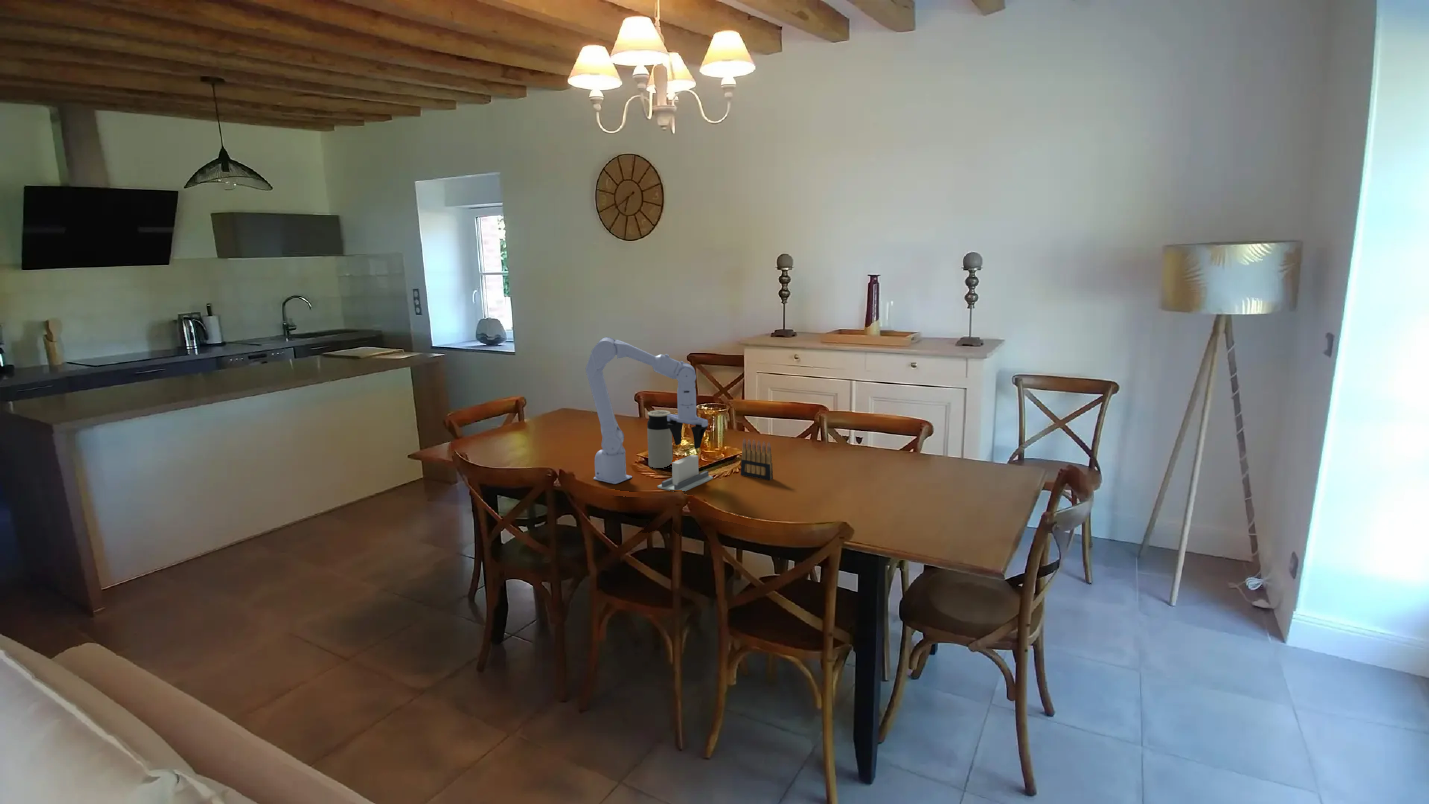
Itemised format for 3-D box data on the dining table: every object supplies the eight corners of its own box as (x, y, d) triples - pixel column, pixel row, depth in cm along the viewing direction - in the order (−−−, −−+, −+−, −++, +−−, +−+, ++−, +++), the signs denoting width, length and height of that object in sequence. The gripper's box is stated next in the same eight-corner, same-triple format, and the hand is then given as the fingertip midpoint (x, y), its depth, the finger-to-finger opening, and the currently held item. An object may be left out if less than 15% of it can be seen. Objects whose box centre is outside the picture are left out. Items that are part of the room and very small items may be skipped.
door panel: (672, 484, 220) (671, 462, 218) (692, 476, 228) (691, 454, 226) (678, 486, 218) (678, 463, 217) (698, 477, 226) (698, 455, 225)
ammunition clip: (740, 474, 230) (740, 438, 228) (743, 473, 232) (743, 436, 229) (770, 480, 224) (770, 442, 222) (773, 478, 226) (773, 441, 223)
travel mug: (671, 469, 237) (670, 415, 233) (647, 469, 237) (645, 415, 234) (673, 461, 245) (672, 409, 241) (650, 462, 245) (648, 410, 241)
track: (657, 487, 219) (657, 481, 219) (689, 473, 232) (689, 467, 231) (681, 493, 214) (681, 486, 214) (712, 478, 227) (712, 472, 226)
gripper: (713, 403, 223) (714, 446, 226) (676, 398, 231) (677, 439, 234) (699, 408, 217) (700, 451, 220) (662, 402, 226) (663, 444, 228)
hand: (687, 446), depth 227 cm, fingers open, 7 cm apart
